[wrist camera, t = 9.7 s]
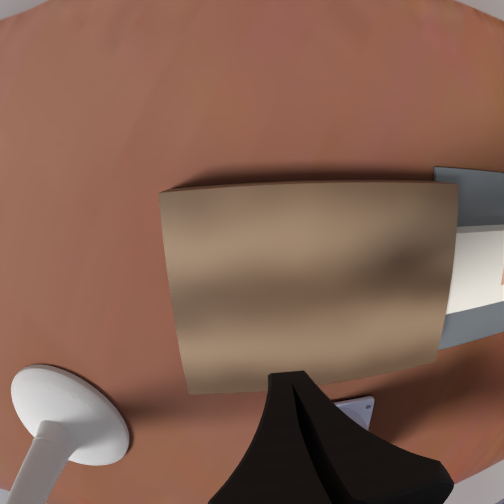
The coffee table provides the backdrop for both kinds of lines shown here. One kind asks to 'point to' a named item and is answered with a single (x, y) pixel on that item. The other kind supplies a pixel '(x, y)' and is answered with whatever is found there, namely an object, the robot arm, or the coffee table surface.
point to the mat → (474, 214)
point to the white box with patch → (477, 268)
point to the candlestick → (62, 429)
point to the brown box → (307, 278)
